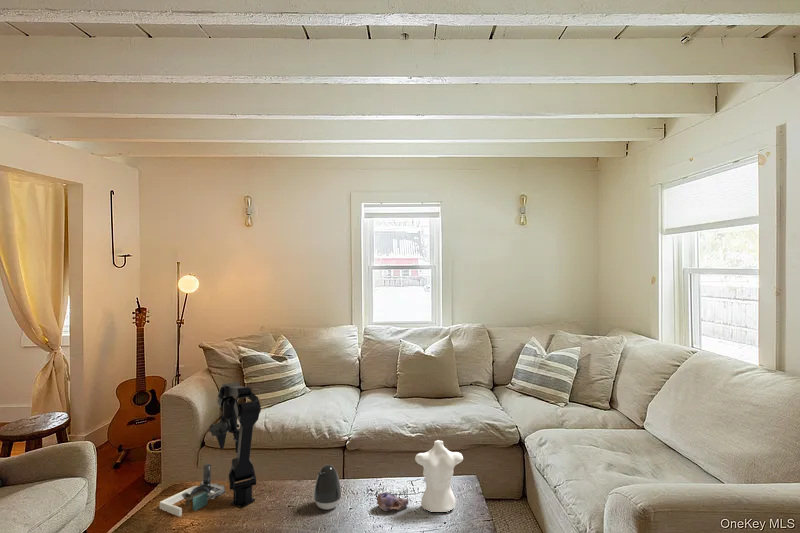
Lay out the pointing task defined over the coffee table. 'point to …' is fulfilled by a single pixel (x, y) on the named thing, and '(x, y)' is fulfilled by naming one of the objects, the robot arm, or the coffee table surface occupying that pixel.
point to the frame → (168, 502)
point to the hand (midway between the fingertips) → (229, 450)
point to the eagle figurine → (196, 493)
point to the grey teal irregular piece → (202, 498)
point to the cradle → (217, 490)
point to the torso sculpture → (438, 477)
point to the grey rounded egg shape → (327, 488)
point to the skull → (391, 502)
